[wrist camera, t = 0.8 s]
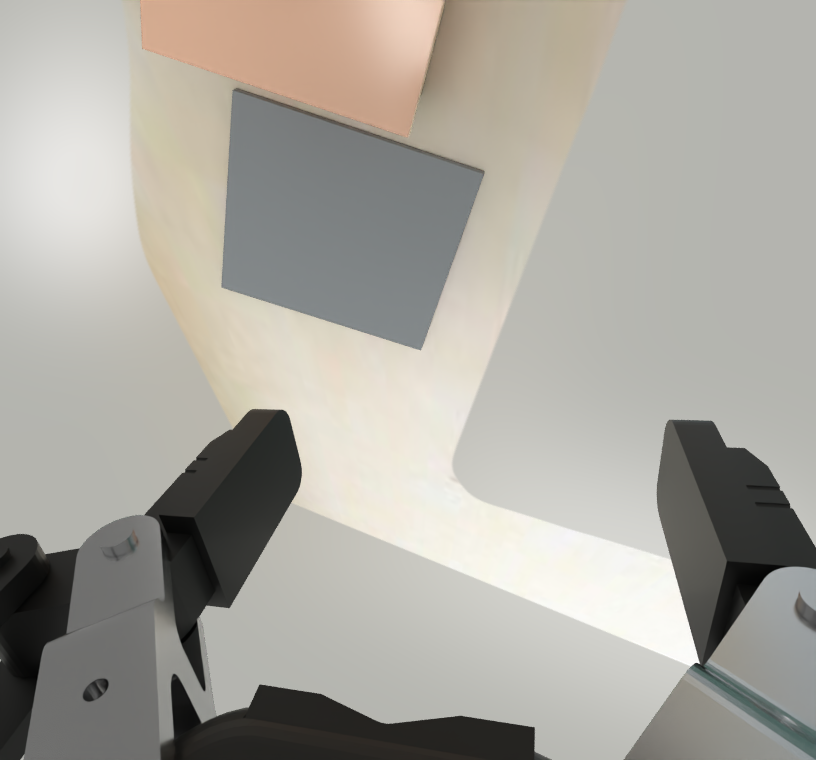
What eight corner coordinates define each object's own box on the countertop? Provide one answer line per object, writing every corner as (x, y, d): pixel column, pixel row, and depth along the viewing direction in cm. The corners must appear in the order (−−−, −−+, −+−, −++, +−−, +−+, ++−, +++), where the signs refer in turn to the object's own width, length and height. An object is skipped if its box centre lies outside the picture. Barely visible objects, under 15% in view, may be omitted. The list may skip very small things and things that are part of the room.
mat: (224, 283, 41) (221, 287, 41) (236, 88, 33) (232, 90, 32) (421, 346, 42) (420, 350, 42) (484, 171, 33) (483, 174, 33)
